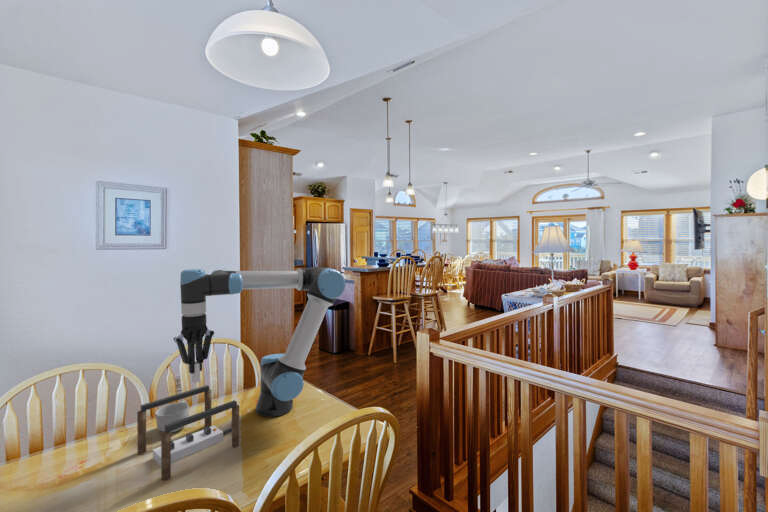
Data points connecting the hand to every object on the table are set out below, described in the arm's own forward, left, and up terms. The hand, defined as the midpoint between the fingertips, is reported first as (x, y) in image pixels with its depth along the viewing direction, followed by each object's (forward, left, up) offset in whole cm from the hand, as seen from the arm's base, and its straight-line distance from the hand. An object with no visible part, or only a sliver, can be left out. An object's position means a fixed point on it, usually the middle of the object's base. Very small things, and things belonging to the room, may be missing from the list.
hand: (196, 381), depth 123 cm
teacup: (0, -18, -23) cm, 29 cm away
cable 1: (+3, -9, -8) cm, 12 cm away
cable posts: (+3, +1, -23) cm, 23 cm away
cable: (+3, +11, -8) cm, 14 cm away
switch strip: (0, +1, -23) cm, 23 cm away
